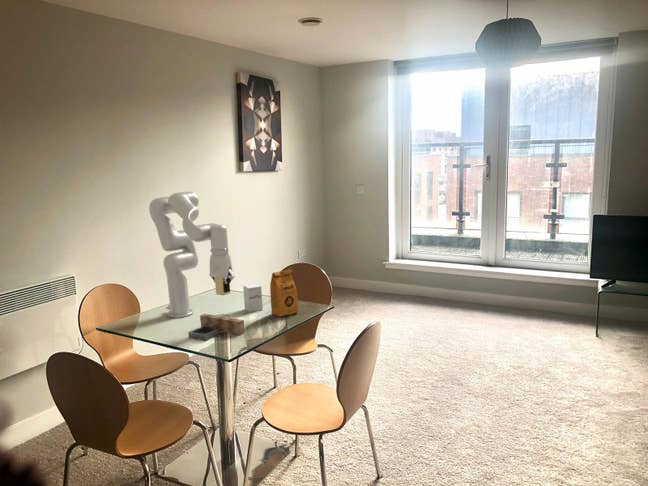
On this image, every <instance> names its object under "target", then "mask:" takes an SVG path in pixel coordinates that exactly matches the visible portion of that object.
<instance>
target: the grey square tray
mask: <svg viewBox="0 0 648 486" xmlns="http://www.w3.org/2000/svg"><path fill="white" fill-rule="evenodd" d="M187 333H188V338H189V339H193V340H198V341H204V342H206V341H208V340H211V339H214V338H215V337H217V336H220V335H222V332H221V329H220V328H215V327H209V326H203V327H201V326H200V327H198V328H196V329H193V330H191V331H188V332H187Z"/></svg>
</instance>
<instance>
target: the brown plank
mask: <svg viewBox="0 0 648 486" xmlns="http://www.w3.org/2000/svg"><path fill="white" fill-rule="evenodd" d="M199 321H200V327H203V326H209V327H215V328H220V329H221V331H223V333H226V334H227V333H228V334H233V335H238V336H242V335H244V334H246V330H245V329H246V328H245V320H244V319H241V318H240V319H239V318H234V317H233V318H232V317H227V316H222V315H214V314H208V313H203V314H200V316H199Z"/></svg>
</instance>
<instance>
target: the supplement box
mask: <svg viewBox="0 0 648 486" xmlns="http://www.w3.org/2000/svg"><path fill="white" fill-rule="evenodd" d="M262 291H263V290H262V286H261V285H260V284H258V283H252V284H247V285H243V299H244V310H246V311H247V312H248V313H253V312H257V311H262V310H263V308H264V307H263V293H262Z"/></svg>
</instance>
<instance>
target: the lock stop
mask: <svg viewBox="0 0 648 486" xmlns="http://www.w3.org/2000/svg"><path fill="white" fill-rule="evenodd" d="M214 284H215V285H216V286H215V295H218V296H227V295H229V294H231V290H230V291H229V292H225V290H224V284H225V281H224V278H218V277H215V283H214Z"/></svg>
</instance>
